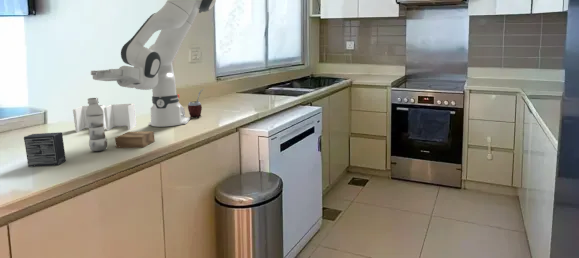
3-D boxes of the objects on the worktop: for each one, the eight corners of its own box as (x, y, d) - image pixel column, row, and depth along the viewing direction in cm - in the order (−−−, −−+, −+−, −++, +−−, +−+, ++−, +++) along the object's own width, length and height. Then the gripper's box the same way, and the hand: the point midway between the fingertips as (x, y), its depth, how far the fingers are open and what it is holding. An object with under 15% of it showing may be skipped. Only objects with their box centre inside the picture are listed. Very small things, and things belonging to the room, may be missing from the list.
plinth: (129, 141, 195) (128, 131, 194) (154, 141, 194) (153, 131, 193) (116, 147, 185) (114, 137, 184) (143, 147, 183) (141, 136, 182)
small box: (67, 160, 168) (63, 131, 166) (59, 165, 161) (54, 135, 159) (36, 162, 168) (32, 133, 166) (27, 167, 161) (22, 136, 159)
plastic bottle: (88, 153, 177) (82, 100, 173) (91, 149, 183) (84, 98, 179) (107, 151, 178) (101, 98, 175) (109, 148, 185) (102, 96, 181)
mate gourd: (186, 117, 250) (184, 88, 248) (200, 115, 255) (197, 87, 252) (192, 118, 245) (190, 89, 242) (206, 116, 249) (204, 88, 246)
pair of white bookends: (136, 125, 233) (134, 103, 231) (130, 129, 223) (127, 106, 221) (84, 128, 232) (81, 106, 230) (75, 132, 221) (72, 109, 219)
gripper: (107, 70, 203) (81, 65, 191) (145, 67, 195) (120, 62, 182) (107, 85, 203) (81, 81, 190) (145, 82, 195) (120, 78, 182)
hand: (101, 71), depth 186 cm, fingers open, 8 cm apart
